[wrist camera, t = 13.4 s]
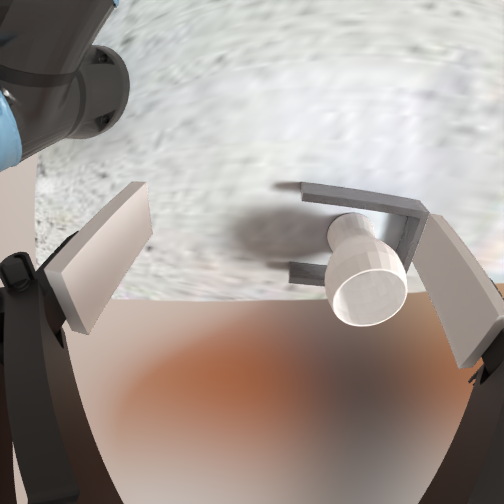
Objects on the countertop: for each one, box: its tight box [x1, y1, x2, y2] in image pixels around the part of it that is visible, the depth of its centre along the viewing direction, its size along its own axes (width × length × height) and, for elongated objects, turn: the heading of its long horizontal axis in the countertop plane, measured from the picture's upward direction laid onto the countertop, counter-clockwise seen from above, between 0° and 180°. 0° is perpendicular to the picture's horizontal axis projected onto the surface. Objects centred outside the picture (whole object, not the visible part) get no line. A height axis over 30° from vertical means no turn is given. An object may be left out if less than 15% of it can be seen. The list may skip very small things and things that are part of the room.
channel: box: [289, 182, 430, 286], centre depth 43 cm, size 19×15×4 cm
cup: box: [325, 213, 407, 326], centre depth 39 cm, size 11×11×15 cm
